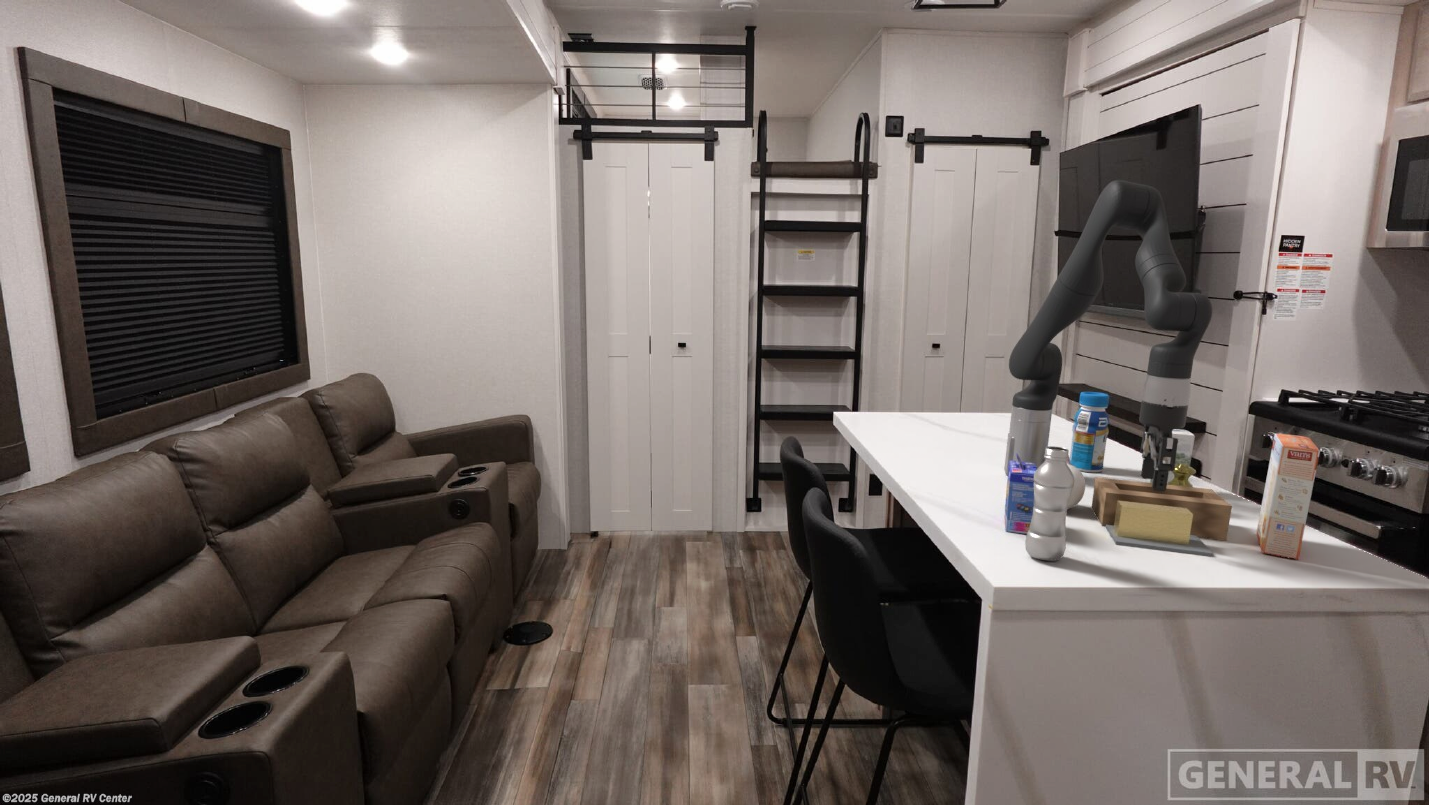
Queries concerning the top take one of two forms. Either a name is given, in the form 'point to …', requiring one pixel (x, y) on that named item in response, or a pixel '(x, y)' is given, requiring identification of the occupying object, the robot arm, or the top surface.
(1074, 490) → the ornament
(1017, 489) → the ink cartridge box
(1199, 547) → the slate mat
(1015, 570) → the top surface
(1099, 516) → the pocket board
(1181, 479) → the gold spiky piece
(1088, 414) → the beverage bottle
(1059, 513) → the plastic bottle
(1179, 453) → the syrup box
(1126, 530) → the pale yellow rectangular block
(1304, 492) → the cracker box
